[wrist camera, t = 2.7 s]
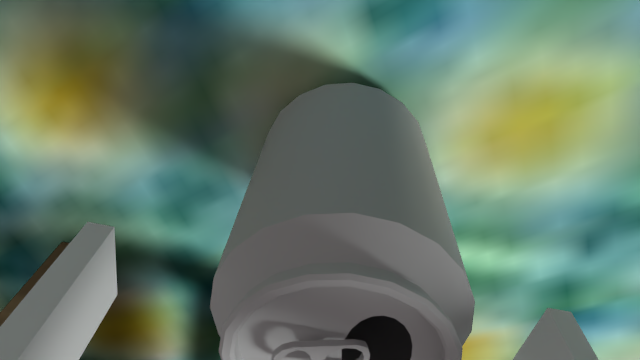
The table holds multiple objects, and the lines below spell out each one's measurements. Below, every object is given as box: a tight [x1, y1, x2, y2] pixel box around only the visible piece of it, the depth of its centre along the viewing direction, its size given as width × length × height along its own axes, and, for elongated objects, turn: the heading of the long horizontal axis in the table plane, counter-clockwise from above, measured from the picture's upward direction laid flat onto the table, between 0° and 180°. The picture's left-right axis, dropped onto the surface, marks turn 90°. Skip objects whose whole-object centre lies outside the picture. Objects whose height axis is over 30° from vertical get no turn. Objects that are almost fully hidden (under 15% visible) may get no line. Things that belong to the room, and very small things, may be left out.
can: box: [210, 83, 475, 360], centre depth 16 cm, size 8×8×12 cm
